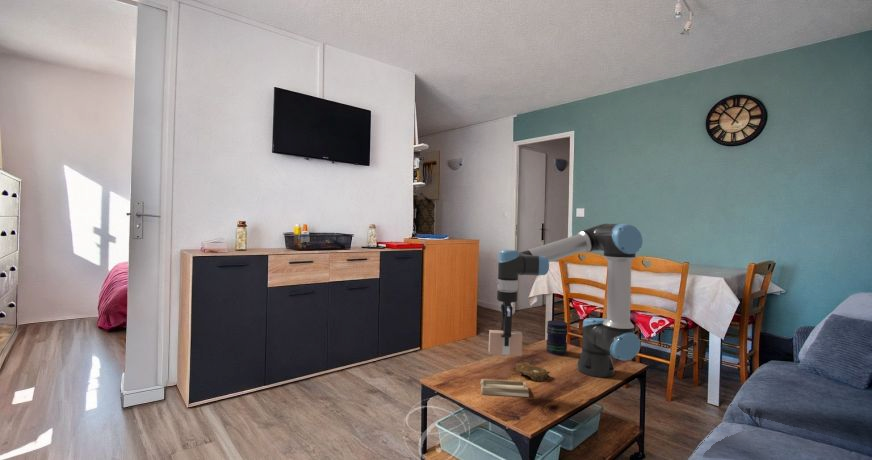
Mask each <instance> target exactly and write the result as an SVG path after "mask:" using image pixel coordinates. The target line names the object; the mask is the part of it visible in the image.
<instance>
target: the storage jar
mask: <svg viewBox="0 0 872 460" xmlns="http://www.w3.org/2000/svg"><path fill="white" fill-rule="evenodd" d="M546 334H547V340H546V352H547V354H549V355H553V356H566V355H567V350H568V341H567V337H568V336H567V335H568V323H567V322H566V321H561V320H554V319H553V320H552V319H551V320H548V321H547V326H546Z"/></svg>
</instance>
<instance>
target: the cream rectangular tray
mask: <svg viewBox="0 0 872 460" xmlns="http://www.w3.org/2000/svg"><path fill="white" fill-rule="evenodd" d="M480 388H481V395H486V396H487V395H488V396H504V397H505V396H507V397H519V398H520V397H522V398H523V397H524V398H529V397H530V393H529V392H530V391H529V388H528V385H527V383H526V381H525V380H514V379H513V380H512V379H510V380H508V379H491V378H490V379H489V378H481V379H480Z"/></svg>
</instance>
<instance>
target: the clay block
mask: <svg viewBox="0 0 872 460" xmlns="http://www.w3.org/2000/svg"><path fill="white" fill-rule="evenodd" d="M488 331H489V333H488V354H489V355H498V356H499V355H502V356H506V355H505V354H502V342H503V337H501V335H503V331H501V329H499V330H498V329H497V330H496V329H489V330H488ZM522 353H523V332H522V331H516V330H515V331H512V330H511V337H510V355H509V356H515V357H522Z"/></svg>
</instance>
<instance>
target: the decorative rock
mask: <svg viewBox="0 0 872 460" xmlns="http://www.w3.org/2000/svg"><path fill="white" fill-rule="evenodd" d="M515 367H516V372H518V373H520V374H523V375H524V376H527V377H528V378H530V379H531V380H532V381H540V382H544V381H545V380H546V379H547V378H548V376H549V374H550V371H547V370H546V369H545V368H542V367H540V366H535V365H532V364H531V363H529V362H526V361H525V362H521V363H520V362H519V363H518V362H517V363H515Z"/></svg>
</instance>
